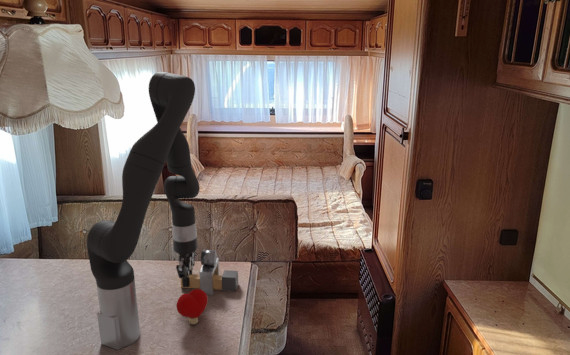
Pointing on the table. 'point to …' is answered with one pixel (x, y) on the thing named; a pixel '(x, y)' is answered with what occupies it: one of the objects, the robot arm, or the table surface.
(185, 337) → the table surface
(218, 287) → the plug
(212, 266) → the housing
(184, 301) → the red heart ornament
